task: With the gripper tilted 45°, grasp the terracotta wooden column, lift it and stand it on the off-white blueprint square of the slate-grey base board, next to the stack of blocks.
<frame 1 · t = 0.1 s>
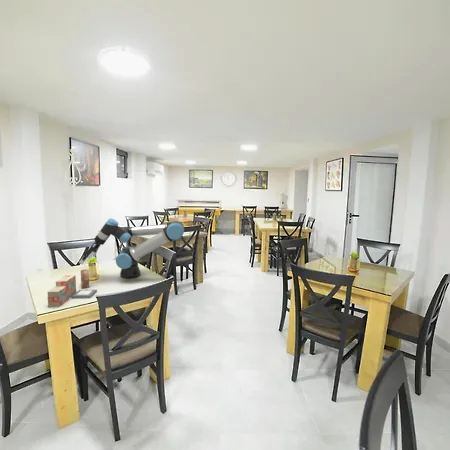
hand: (84, 260, 199), 15 cm above the table, tool tilted 35°, fingers open, 13 cm apart
column: (85, 287, 189), on the table
base board: (84, 295, 175), on the table
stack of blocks: (63, 300, 168), on the table
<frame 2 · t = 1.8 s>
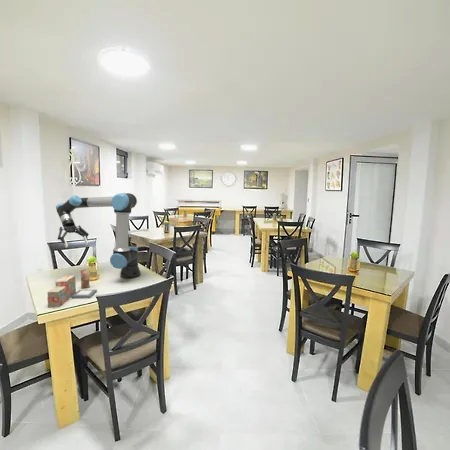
hand: (77, 245, 192), 28 cm above the table, tool tilted 45°, fingers open, 13 cm apart
nothing on the table moved.
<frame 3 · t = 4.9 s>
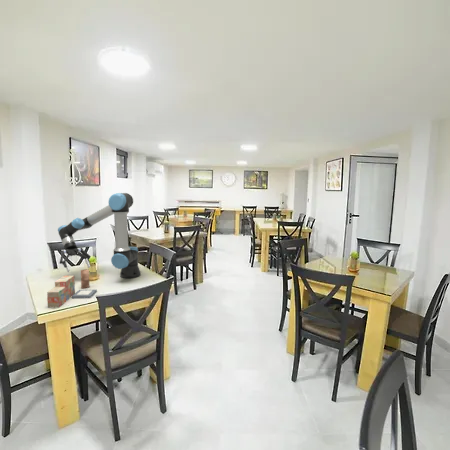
hand: (79, 268, 191), 12 cm above the table, tool tilted 45°, fingers open, 13 cm apart
nothing on the table moved.
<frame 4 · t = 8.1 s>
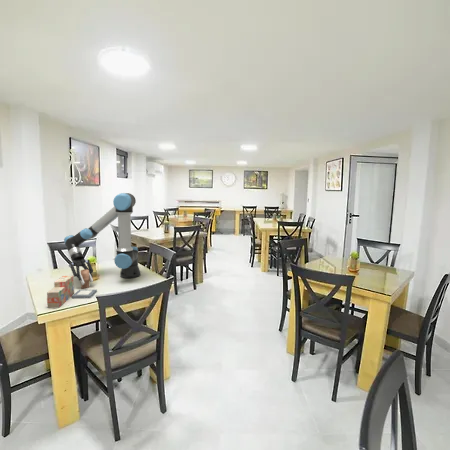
hand: (87, 282, 186), 4 cm above the table, tool tilted 45°, fingers closed on column, 5 cm apart
column: (85, 287, 189), on the table, touching gripper
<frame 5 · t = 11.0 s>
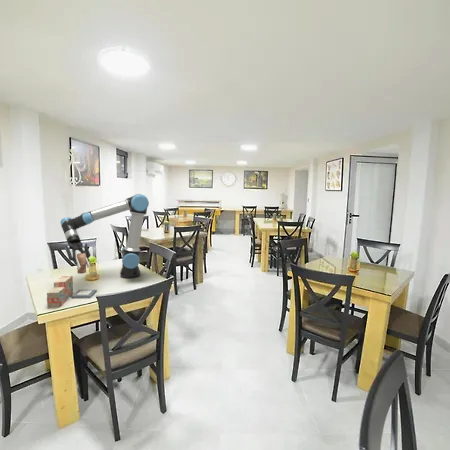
hand: (84, 267, 173), 18 cm above the table, tool tilted 45°, fingers closed on column, 5 cm apart
column: (81, 272, 176), point 14 cm above the table, touching gripper
when the fingers open (7 cm above the table, at t = 14.2 s): column stays where it is, resting on base board.
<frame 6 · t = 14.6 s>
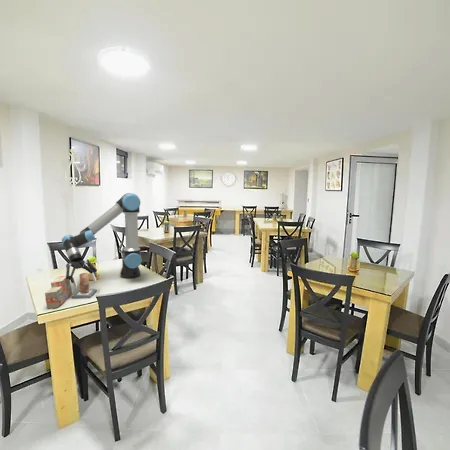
hand: (86, 284, 173), 8 cm above the table, tool tilted 45°, fingers open, 11 cm apart
column: (84, 292, 175), point 2 cm above the table, touching base board
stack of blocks: (60, 300, 165), on the table, touching hand
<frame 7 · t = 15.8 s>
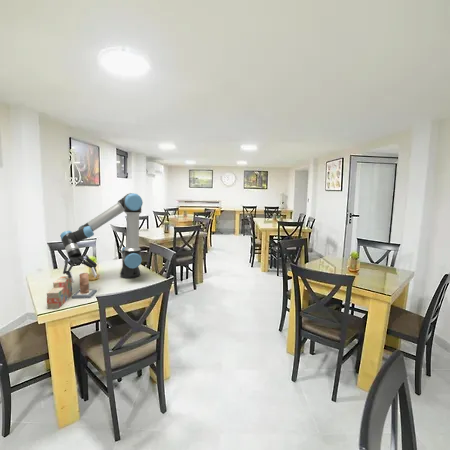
hand: (85, 279, 172), 11 cm above the table, tool tilted 45°, fingers open, 13 cm apart
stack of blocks: (60, 301, 165), on the table
everything else where it was.
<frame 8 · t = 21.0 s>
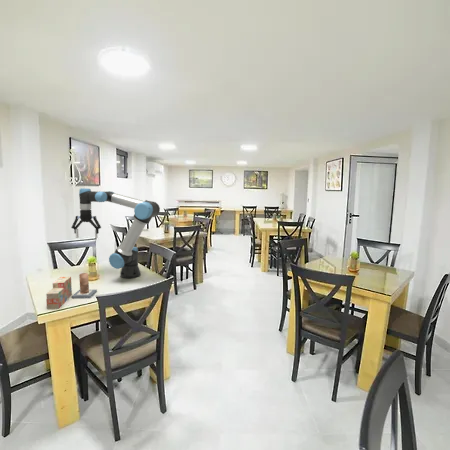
hand: (86, 237, 205), 31 cm above the table, tool pointing down, fingers open, 13 cm apart
nothing on the table moved.
at the end: column 0.1 cm off-centre on the base board, point 1.8 cm above the base board's base; column tilted 1°; the gripper is holding nothing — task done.
